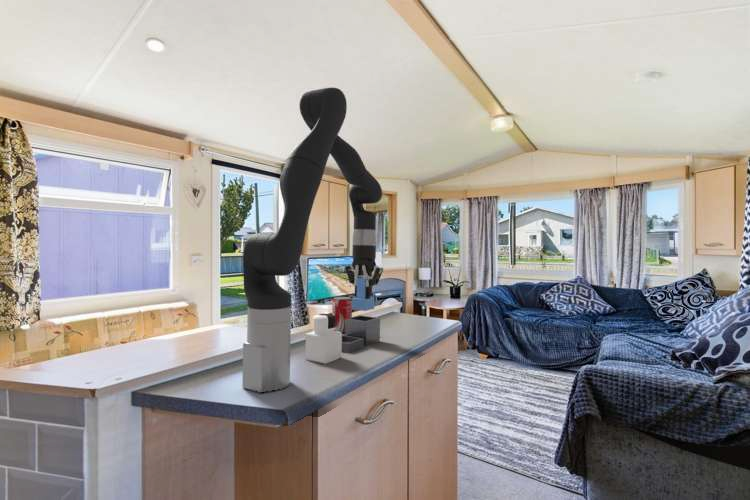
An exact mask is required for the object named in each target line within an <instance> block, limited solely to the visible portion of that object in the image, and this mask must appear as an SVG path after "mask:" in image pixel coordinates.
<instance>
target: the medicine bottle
mask: <svg viewBox="0 0 750 500" xmlns="http://www.w3.org/2000/svg"><path fill="white" fill-rule="evenodd" d="M334 330H335V316H334V315H332V313H331V314H330V313H319V314H318V313H317V314H316V315H313V316H312V331H310V332H307V333H305V347H304V348H305V355H304V356H305V360H306V361H311V362H316V363H320V364H324V365H326V364H329V363H331V362H333V361H336V360H338V359H341V358H342V335H343V332H338V331H334Z"/></svg>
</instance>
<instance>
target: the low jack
mask: <svg viewBox="0 0 750 500" xmlns="http://www.w3.org/2000/svg"><path fill="white" fill-rule="evenodd" d="M364 347H365V346H364V339H363V338H357V337H351V336H346V335H345V334H342V352H343V353H346V354H348V353H352V352H353V351H357V350H361V349H362V348H364ZM342 352H341V353H342Z"/></svg>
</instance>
